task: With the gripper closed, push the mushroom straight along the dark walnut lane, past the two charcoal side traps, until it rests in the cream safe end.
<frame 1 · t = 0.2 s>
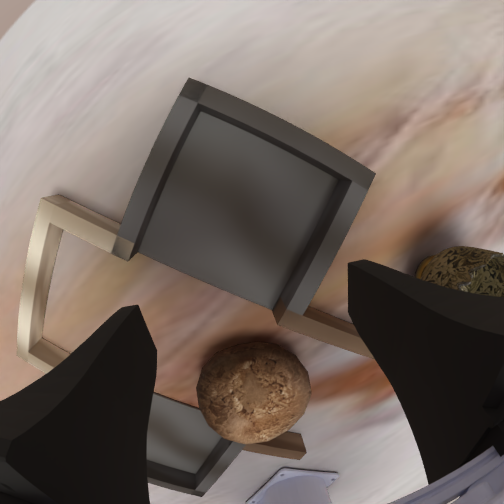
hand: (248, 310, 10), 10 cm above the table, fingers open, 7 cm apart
mushroom: (250, 368, 23), on the table
trap box: (202, 354, 22), on the table
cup: (426, 273, 22), on the table
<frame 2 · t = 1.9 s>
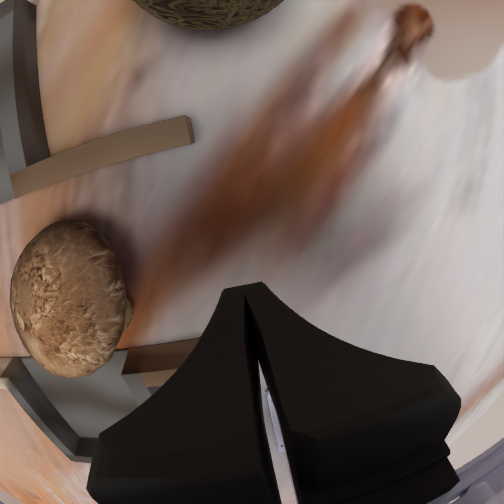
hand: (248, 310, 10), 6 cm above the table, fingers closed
mushroom: (84, 273, 16), on the table
trap box: (33, 285, 15), on the table
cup: (212, 0, 11), on the table
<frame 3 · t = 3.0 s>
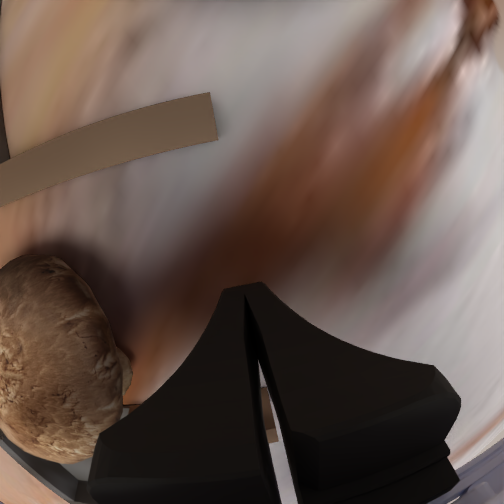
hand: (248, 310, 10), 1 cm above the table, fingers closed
mushroom: (65, 317, 11), on the table
trap box: (5, 329, 11), on the table
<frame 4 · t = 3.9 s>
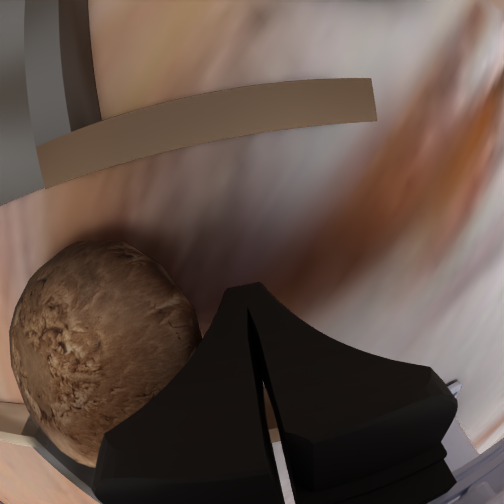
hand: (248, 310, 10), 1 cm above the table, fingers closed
mushroom: (117, 311, 11), on the table, touching gripper
trap box: (66, 321, 11), on the table
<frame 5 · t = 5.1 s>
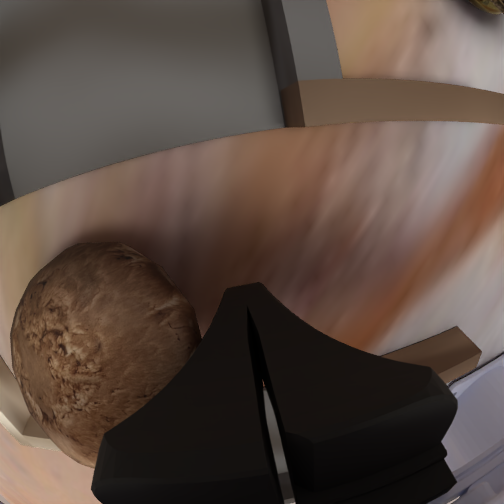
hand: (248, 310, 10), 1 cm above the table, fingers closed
mushroom: (117, 313, 11), on the table, touching gripper
trap box: (223, 294, 11), on the table
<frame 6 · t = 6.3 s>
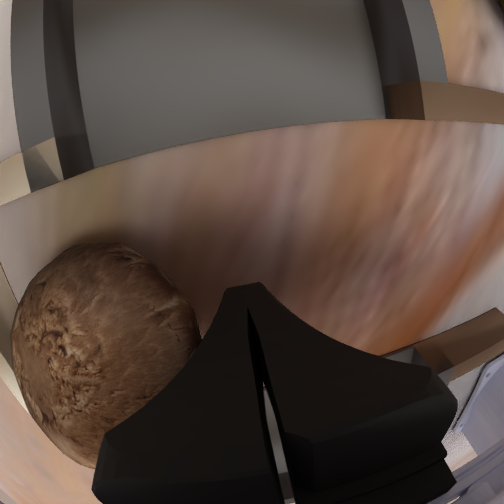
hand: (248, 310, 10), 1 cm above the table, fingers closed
mushroom: (117, 313, 11), on the table, touching gripper
trap box: (320, 273, 11), on the table
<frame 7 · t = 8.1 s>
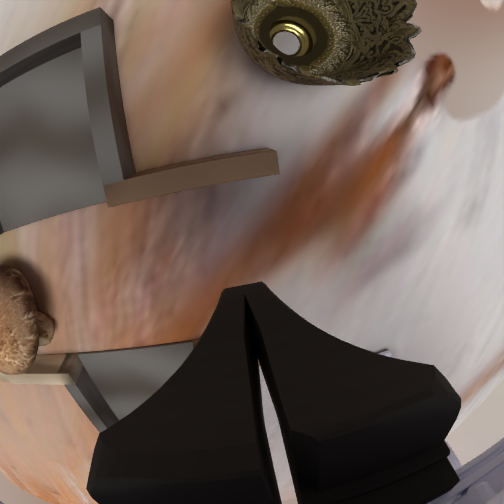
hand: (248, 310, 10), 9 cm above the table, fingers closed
mushroom: (23, 299, 19), on the table
trap box: (104, 285, 19), on the table
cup: (285, 44, 15), on the table
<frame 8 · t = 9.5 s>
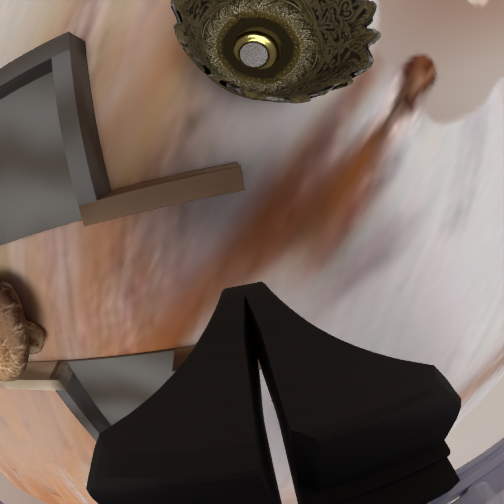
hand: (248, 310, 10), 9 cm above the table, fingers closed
mushroom: (16, 310, 19), on the table
trap box: (88, 297, 19), on the table
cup: (253, 55, 15), on the table
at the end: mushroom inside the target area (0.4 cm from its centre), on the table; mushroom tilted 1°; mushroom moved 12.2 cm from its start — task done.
